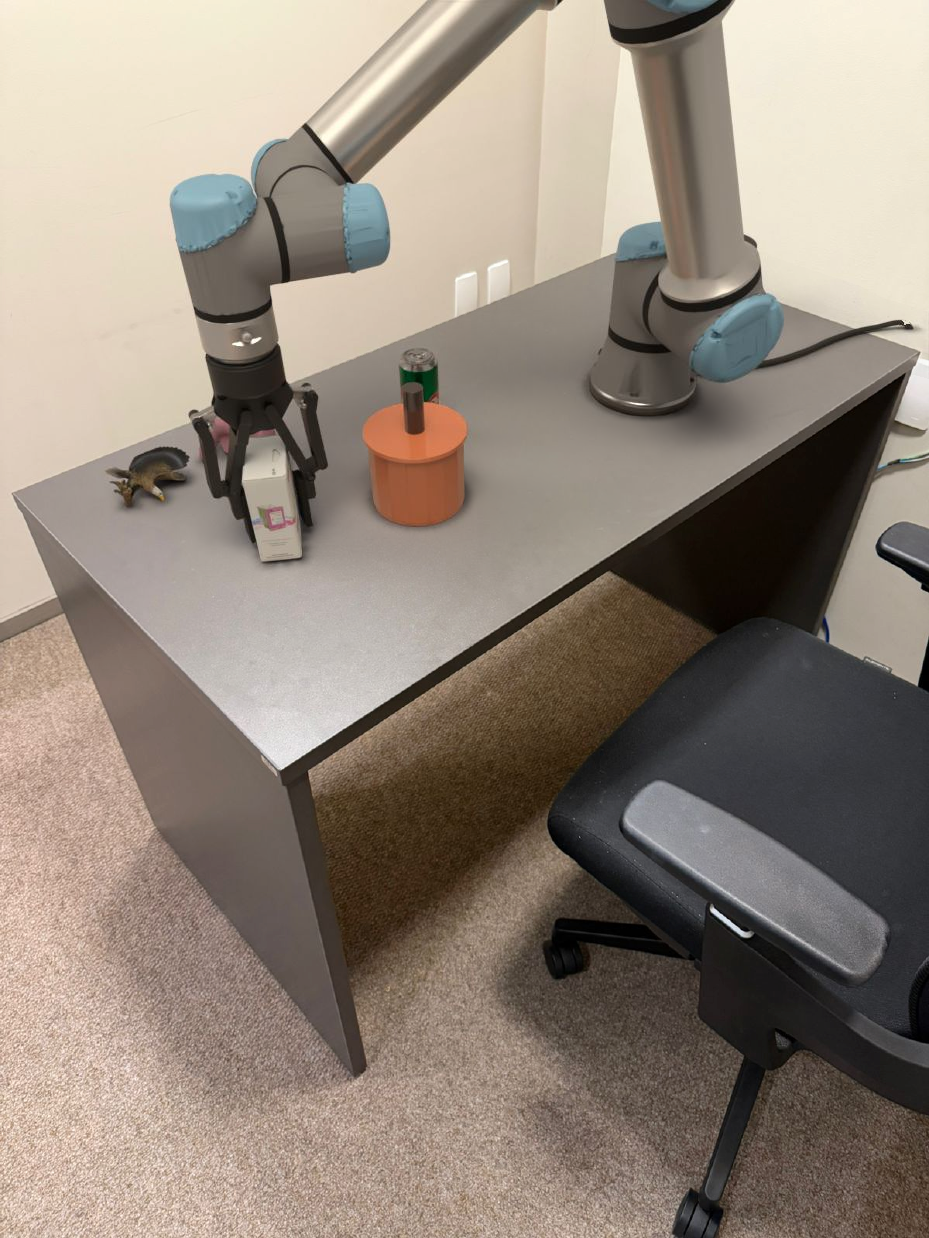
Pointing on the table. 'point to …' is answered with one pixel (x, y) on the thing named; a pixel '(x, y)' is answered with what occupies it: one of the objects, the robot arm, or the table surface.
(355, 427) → the table surface
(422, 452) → the pot lid
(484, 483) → the table surface
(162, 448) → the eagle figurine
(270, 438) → the ink box
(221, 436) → the video game controller
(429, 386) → the soda can
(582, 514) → the table surface
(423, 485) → the pot
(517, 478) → the table surface
